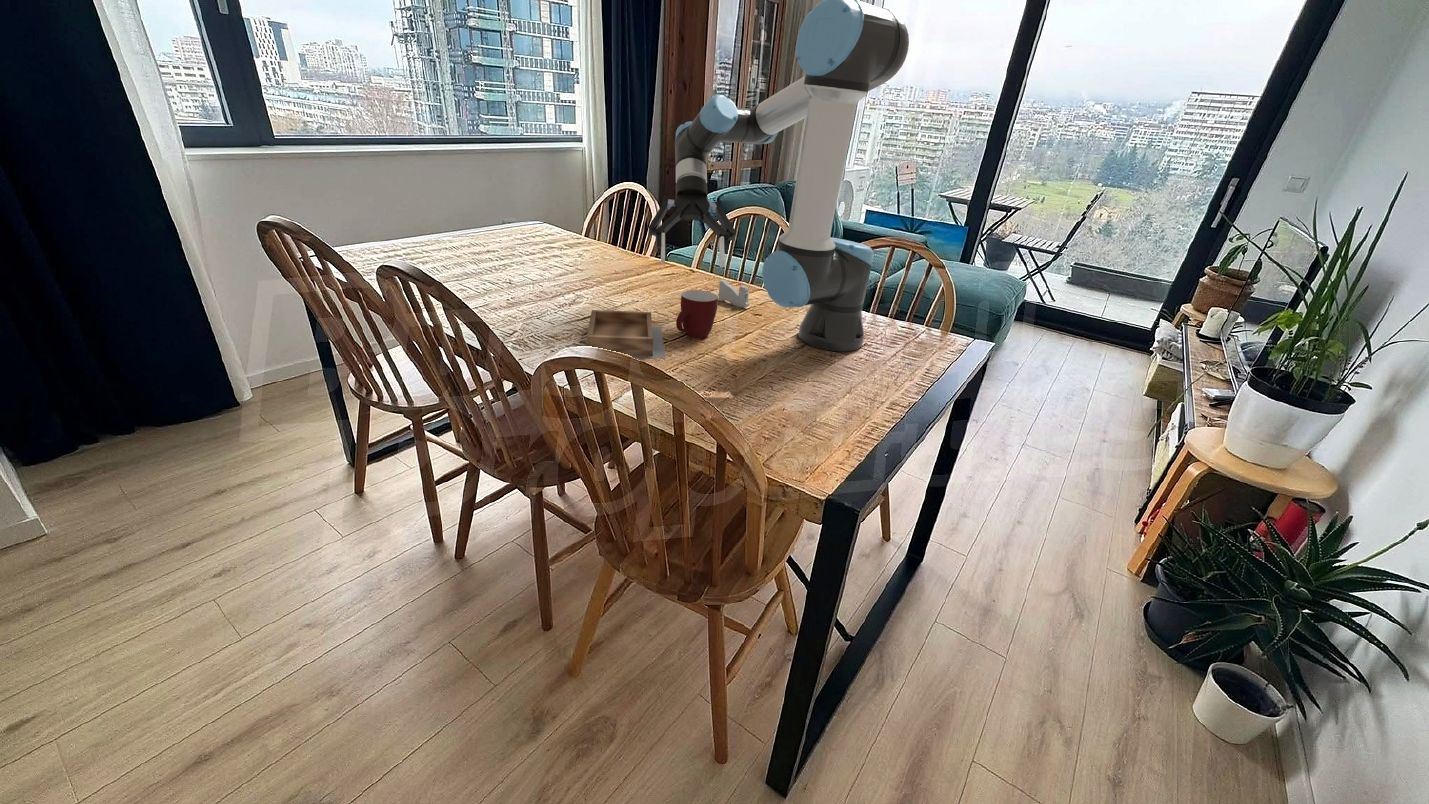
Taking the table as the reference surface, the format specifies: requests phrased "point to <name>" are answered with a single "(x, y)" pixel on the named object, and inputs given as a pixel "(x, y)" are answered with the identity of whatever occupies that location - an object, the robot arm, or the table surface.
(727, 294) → the notched grey bracket
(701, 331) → the mug
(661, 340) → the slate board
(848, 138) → the robot arm
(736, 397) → the table surface
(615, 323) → the wooden tray
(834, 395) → the table surface
